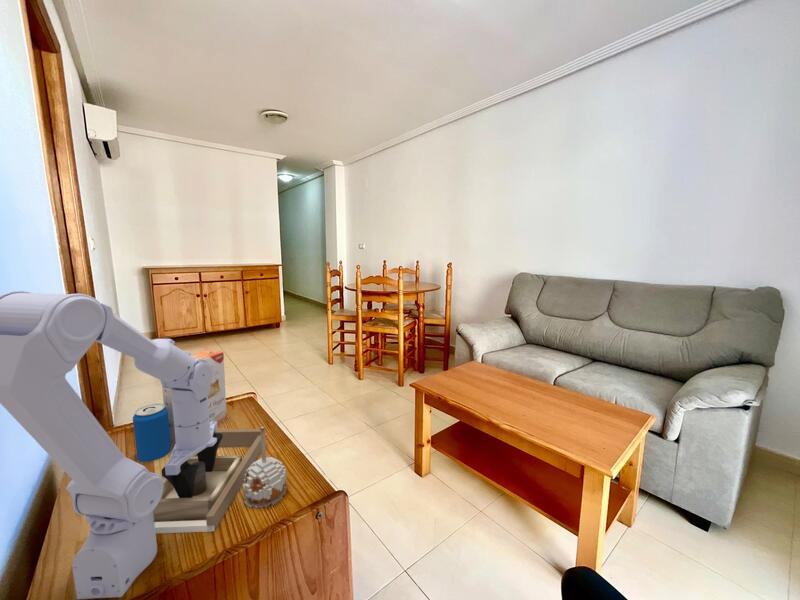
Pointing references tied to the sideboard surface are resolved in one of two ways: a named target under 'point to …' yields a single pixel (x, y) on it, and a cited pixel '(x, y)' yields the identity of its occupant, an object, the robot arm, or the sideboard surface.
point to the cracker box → (215, 395)
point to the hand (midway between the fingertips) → (197, 483)
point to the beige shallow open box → (197, 490)
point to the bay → (227, 495)
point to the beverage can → (151, 432)
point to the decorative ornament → (264, 480)
